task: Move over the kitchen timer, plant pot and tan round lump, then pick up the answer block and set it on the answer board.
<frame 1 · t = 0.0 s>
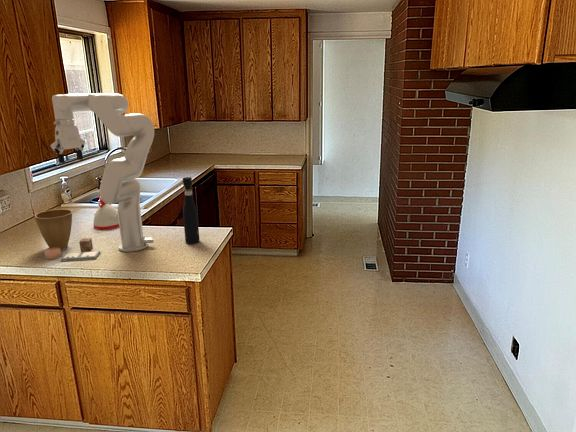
hand: (71, 161, 208), 37 cm above the counter, tool pointing down, fingers open, 9 cm apart
answer board: (81, 257, 193), on the counter
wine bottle: (192, 242, 209), on the counter
tan round lump: (53, 257, 194), on the counter
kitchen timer: (108, 226, 237), on the counter
plant pot: (59, 247, 206), on the counter
answer block: (87, 250, 201), on the counter
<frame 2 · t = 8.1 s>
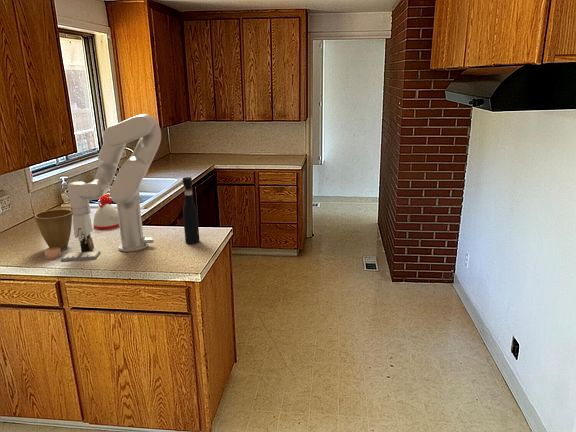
hand: (87, 249, 201), 0 cm above the counter, tool pointing down, fingers closed on answer block, 3 cm apart
answer block: (88, 249, 201), on the counter, tilted 5°, touching gripper
everything else where it was.
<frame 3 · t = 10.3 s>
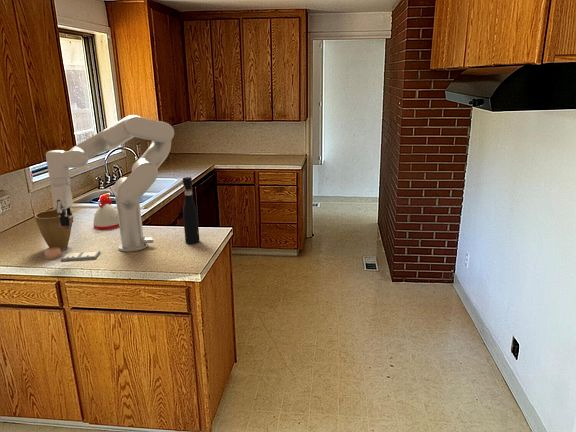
hand: (67, 223, 189), 15 cm above the counter, tool pointing down, fingers closed on answer block, 3 cm apart
answer block: (65, 227, 189), point 14 cm above the counter, tilted 17°, touching gripper
everything else where it was.
when the fingers open (3 cm above the counter, at t = 12.7 s): answer block moves 1 cm, resting on answer board.
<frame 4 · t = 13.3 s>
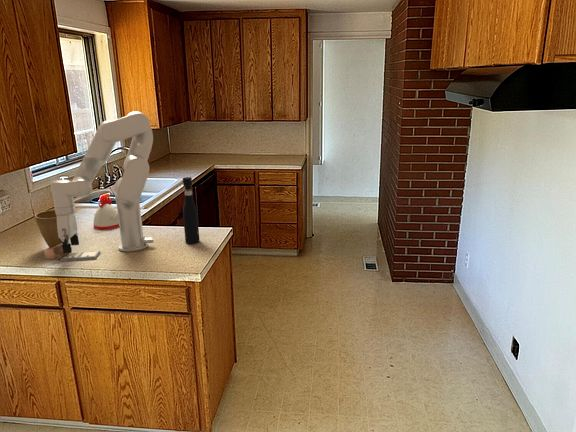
hand: (71, 248, 192), 4 cm above the counter, tool pointing down, fingers open, 9 cm apart
answer block: (64, 255, 192), point 1 cm above the counter, tilted 19°, touching answer board
everything else where it was.
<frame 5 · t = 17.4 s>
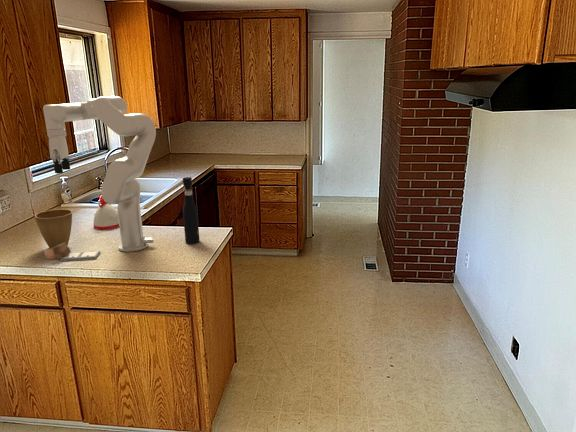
hand: (62, 171, 205), 33 cm above the counter, tool pointing down, fingers open, 9 cm apart
nothing on the counter moved.
at the end: answer block 3.0 cm from the target spot on the answer board, point 1.1 cm above the answer board's base; answer block tilted 19°; the gripper is holding nothing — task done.
